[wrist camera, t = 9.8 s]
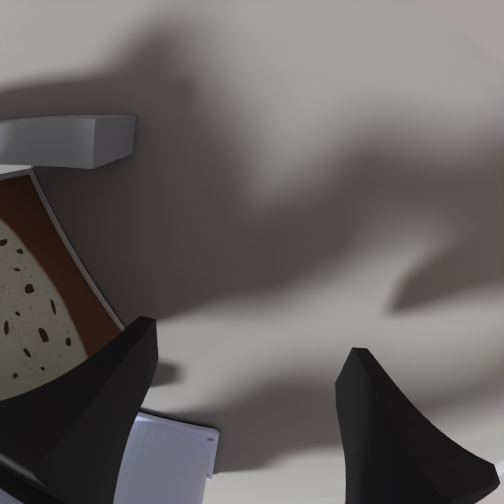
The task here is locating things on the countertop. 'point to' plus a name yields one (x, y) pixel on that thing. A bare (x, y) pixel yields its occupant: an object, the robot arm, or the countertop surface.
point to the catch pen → (67, 140)
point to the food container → (43, 293)
